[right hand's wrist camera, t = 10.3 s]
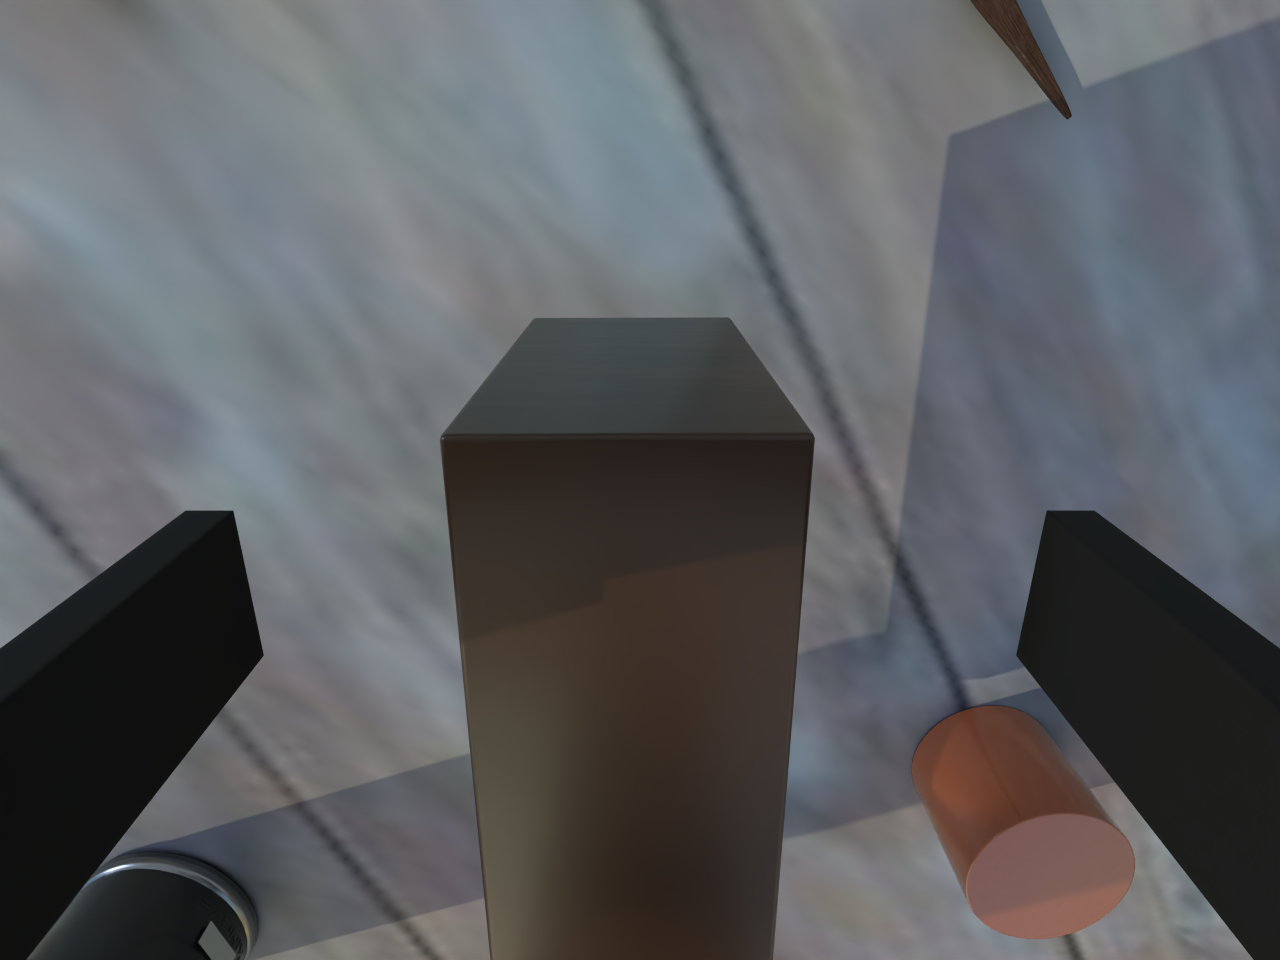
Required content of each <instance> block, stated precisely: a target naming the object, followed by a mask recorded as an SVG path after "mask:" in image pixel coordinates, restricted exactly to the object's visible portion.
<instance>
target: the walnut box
mask: <svg viewBox="0 0 1280 960" xmlns="http://www.w3.org/2000/svg"><path fill="white" fill-rule="evenodd" d="M814 442H815V438H814V435H813V433H812V432H811V430H810V429H809V428H808V426H807V425H806V423H805V422H804V421H803V419H802V418H801V417H800V415H799V414H798V412H797V411H796V410H795V408H794V407H793V405H792V404H791V403H790V401H789V400H788V398H787V397H786V396H785V394H784V393H783V391H782V390H781V389H780V387H779V386H778V385H777V383H776V382H775V380H774V379H773V378H772V376H771V375H770V373H769V372H768V371H767V369H766V368H765V366H764V365H763V364H762V362H761V361H760V359H759V358H758V357H757V355H756V354H755V352H754V351H753V350H752V348H751V347H750V346H749V344H748V343H747V341H746V340H745V339H744V337H743V336H742V334H741V333H740V332H739V330H738V329H737V327H736V326H735V325H734V323H733V322H732V320H731V319H730V318H535V319H533V321H532V322H531V323H530V324H529V326H528V327H527V328H526V329H525V331H524V332H523V333H522V334H521V336H520V337H519V338H518V339H517V341H516V342H515V343H514V345H513V346H512V347H511V348H510V350H509V351H508V352H507V353H506V355H505V356H504V357H503V358H502V360H501V361H500V362H499V363H498V365H497V366H496V367H495V368H494V370H493V371H492V372H491V374H490V375H489V376H488V377H487V379H486V380H485V381H484V382H483V384H482V385H481V386H480V387H479V389H478V390H477V391H476V392H475V394H474V395H473V396H472V398H471V399H470V400H469V401H468V403H467V404H466V405H465V406H464V408H463V409H462V410H461V411H460V413H459V414H458V415H457V416H456V418H455V419H454V420H453V421H452V423H451V424H450V425H449V427H448V428H447V429H446V430H445V432H444V433H443V434H442V435H441V438H440V446H441V456H442V466H443V476H444V487H445V497H446V507H447V518H448V528H449V538H450V548H451V559H452V569H453V579H454V589H455V600H456V610H457V620H458V631H459V641H460V651H461V661H462V672H463V682H464V692H465V703H466V713H467V723H468V733H469V744H470V754H471V764H472V775H473V785H474V795H475V805H476V816H477V826H478V836H479V846H480V857H481V867H482V877H483V888H484V898H485V908H486V918H487V929H488V939H489V949H490V960H773V952H774V939H775V927H776V915H777V902H778V890H779V877H780V865H781V852H782V840H783V828H784V815H785V803H786V790H787V778H788V765H789V753H790V740H791V728H792V716H793V703H794V691H795V678H796V666H797V653H798V641H799V629H800V616H801V604H802V591H803V579H804V566H805V554H806V541H807V529H808V517H809V504H810V492H811V479H812V467H813V454H814Z"/></svg>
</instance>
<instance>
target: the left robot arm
mask: <svg viewBox="0 0 1280 960" xmlns="http://www.w3.org/2000/svg"><path fill="white" fill-rule="evenodd" d="M257 934H258V924H257V918H256V914H255V911H254V909H253V907H252V905H251V903H250V901H249V900H248V898H247V896H246V895H245V894H244V893H243V891H242V890H241V889H240V888H239V887H238V886H237V885H236V884H235V883H234V882H233V881H232V880H230V879H229V878H228V877H227V876H225V875H224V874H222V873H221V872H219V871H218V870H216V869H214V868H212V867H211V866H209V865H207V864H204V863H202V862H200V861H197V860H195V859H192V858H188V857H185V856H181V855H177V854H171V853H163V852H139V853H133V854H128V855H124V856H121V857H118V858H115V859H113V860H111V861H109V862H107V863H105V864H104V865H102V866H101V867H99V868H98V869H97V870H96V871H95V872H94V874H93V875H92V876H91V877H90V879H89V880H88V881H87V883H86V884H85V885H84V886H83V888H82V889H81V890H80V892H79V893H78V894H77V895H76V897H75V898H74V899H73V900H72V902H71V903H70V904H69V906H68V907H67V908H66V909H65V911H64V912H63V913H62V915H61V916H60V917H59V918H58V920H57V921H56V922H55V924H54V925H53V926H52V927H51V929H50V930H49V931H48V933H47V934H46V935H45V936H44V938H43V939H42V940H41V942H40V943H39V944H38V945H37V947H36V948H35V949H34V950H33V952H32V953H31V954H30V956H29V957H28V958H27V959H26V960H247V959H248V957H249V955H250V953H251V951H252V949H253V947H254V945H255V942H256V939H257Z"/></svg>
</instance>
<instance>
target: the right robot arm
mask: <svg viewBox="0 0 1280 960" xmlns="http://www.w3.org/2000/svg"><path fill="white" fill-rule="evenodd" d="M263 656H264V654H263V650H262V645H261V640H260V635H259V631H258V626H257V621H256V616H255V612H254V607H253V602H252V597H251V593H250V588H249V583H248V578H247V574H246V569H245V564H244V559H243V555H242V550H241V545H240V540H239V536H238V531H237V526H236V521H235V517H234V512H233V511H185V512H183V513H182V514H181V515H179V516H178V517H177V518H175V519H174V520H173V521H171V522H170V523H169V524H167V525H166V526H165V527H163V528H162V529H160V530H159V531H158V532H156V533H155V534H154V535H152V536H151V537H150V538H148V539H147V540H146V541H144V542H143V543H142V544H140V545H139V546H138V547H136V548H135V549H134V550H132V551H131V552H130V553H128V554H127V555H125V556H124V557H123V558H121V559H120V560H119V561H117V562H116V563H115V564H113V565H112V566H111V567H109V568H108V569H107V570H105V571H104V572H103V573H101V574H100V575H99V576H97V577H96V578H95V579H93V580H92V581H90V582H89V583H88V584H86V585H85V586H84V587H82V588H81V589H80V590H78V591H77V592H76V593H74V594H73V595H72V596H70V597H69V598H68V599H66V600H65V601H64V602H62V603H61V604H60V605H58V606H57V607H56V608H54V609H53V610H51V611H50V612H49V613H47V614H46V615H45V616H43V617H42V618H41V619H39V620H38V621H37V622H35V623H34V624H33V625H31V626H30V627H29V628H27V629H26V630H25V631H23V632H22V633H21V634H19V635H18V636H16V637H15V638H14V639H12V640H11V641H10V642H8V643H7V644H6V645H4V646H3V647H2V648H0V960H26V959H27V958H28V957H29V956H30V954H31V953H32V952H33V950H34V949H35V948H36V947H37V945H38V944H39V943H40V942H41V940H42V939H43V938H44V936H45V935H46V934H47V933H48V931H49V930H50V929H51V927H52V926H53V925H54V924H55V922H56V921H57V920H58V918H59V917H60V916H61V915H62V913H63V912H64V911H65V909H66V908H67V907H68V906H69V904H70V903H71V902H72V900H73V899H74V898H75V897H76V895H77V894H78V893H79V892H80V890H81V889H82V888H83V886H84V885H85V884H86V883H87V881H88V880H89V879H90V877H91V876H92V875H93V874H94V872H95V871H96V870H97V868H98V867H99V866H100V865H101V863H102V862H103V861H104V859H105V858H106V857H107V856H108V854H109V853H110V852H111V851H112V849H113V848H114V847H115V845H116V844H117V843H118V842H119V840H120V839H121V838H122V836H123V835H124V834H125V833H126V831H127V830H128V829H129V827H130V826H131V825H132V824H133V822H134V821H135V820H136V818H137V817H138V816H139V815H140V813H141V812H142V811H143V809H144V808H145V807H146V806H147V804H148V803H149V802H150V801H151V799H152V798H153V797H154V795H155V794H156V793H157V792H158V790H159V789H160V788H161V786H162V785H163V784H164V783H165V781H166V780H167V779H168V777H169V776H170V775H171V774H172V772H173V771H174V770H175V768H176V767H177V766H178V765H179V763H180V762H181V761H182V760H183V758H184V757H185V756H186V754H187V753H188V752H189V751H190V749H191V748H192V747H193V745H194V744H195V743H196V742H197V740H198V739H199V738H200V736H201V735H202V734H203V733H204V731H205V730H206V729H207V727H208V726H209V725H210V724H211V722H212V721H213V720H214V718H215V717H216V716H217V715H218V713H219V712H220V711H221V710H222V708H223V707H224V706H225V704H226V703H227V702H228V701H229V699H230V698H231V697H232V695H233V694H234V693H235V692H236V690H237V689H238V688H239V686H240V685H241V684H242V683H243V681H244V680H245V679H246V677H247V676H248V675H249V674H250V672H251V671H252V670H253V668H254V667H255V666H256V665H257V663H258V662H259V661H260V660H261V658H262V657H263ZM1016 656H1017V657H1018V658H1019V660H1020V661H1021V662H1022V663H1023V665H1024V666H1025V667H1026V668H1027V670H1028V671H1029V672H1030V674H1031V675H1032V676H1033V677H1034V679H1035V680H1036V681H1037V683H1038V684H1039V685H1040V686H1041V688H1042V689H1043V690H1044V692H1045V693H1046V694H1047V695H1048V697H1049V698H1050V699H1051V701H1052V702H1053V703H1054V704H1055V706H1056V707H1057V708H1058V710H1059V711H1060V712H1061V713H1062V715H1063V716H1064V717H1065V718H1066V720H1067V721H1068V722H1069V724H1070V725H1071V726H1072V727H1073V729H1074V730H1075V731H1076V733H1077V734H1078V735H1079V736H1080V738H1081V739H1082V740H1083V742H1084V743H1085V744H1086V745H1087V747H1088V748H1089V749H1090V751H1091V752H1092V753H1093V754H1094V756H1095V757H1096V758H1097V760H1098V761H1099V762H1100V763H1101V765H1102V766H1103V767H1104V768H1105V770H1106V771H1107V772H1108V774H1109V775H1110V776H1111V777H1112V779H1113V780H1114V781H1115V783H1116V784H1117V785H1118V786H1119V788H1120V789H1121V790H1122V792H1123V793H1124V794H1125V795H1126V797H1127V798H1128V799H1129V801H1130V802H1131V803H1132V804H1133V806H1134V807H1135V808H1136V809H1137V811H1138V812H1139V813H1140V815H1141V816H1142V817H1143V818H1144V820H1145V821H1146V822H1147V824H1148V825H1149V826H1150V827H1151V829H1152V830H1153V831H1154V833H1155V834H1156V835H1157V836H1158V838H1159V839H1160V840H1161V842H1162V843H1163V844H1164V845H1165V847H1166V848H1167V849H1168V851H1169V852H1170V853H1171V854H1172V856H1173V857H1174V858H1175V859H1176V861H1177V862H1178V863H1179V865H1180V866H1181V867H1182V868H1183V870H1184V871H1185V872H1186V874H1187V875H1188V876H1189V877H1190V879H1191V880H1192V881H1193V883H1194V884H1195V885H1196V886H1197V888H1198V889H1199V890H1200V892H1201V893H1202V894H1203V895H1204V897H1205V898H1206V899H1207V900H1208V902H1209V903H1210V904H1211V906H1212V907H1213V908H1214V909H1215V911H1216V912H1217V913H1218V915H1219V916H1220V917H1221V918H1222V920H1223V921H1224V922H1225V924H1226V925H1227V926H1228V927H1229V929H1230V930H1231V931H1232V933H1233V934H1234V935H1235V936H1236V938H1237V939H1238V940H1239V942H1240V943H1241V944H1242V945H1243V947H1244V948H1245V949H1246V950H1247V952H1248V953H1249V954H1250V956H1251V957H1252V958H1253V959H1254V960H1280V648H1278V647H1277V646H1276V645H1274V644H1273V643H1272V642H1270V641H1269V640H1268V639H1266V638H1265V637H1264V636H1262V635H1261V634H1259V633H1258V632H1257V631H1255V630H1254V629H1253V628H1251V627H1250V626H1249V625H1247V624H1246V623H1245V622H1243V621H1242V620H1241V619H1239V618H1238V617H1237V616H1235V615H1234V614H1233V613H1231V612H1230V611H1229V610H1227V609H1226V608H1224V607H1223V606H1222V605H1220V604H1219V603H1218V602H1216V601H1215V600H1214V599H1212V598H1211V597H1210V596H1208V595H1207V594H1206V593H1204V592H1203V591H1202V590H1200V589H1199V588H1198V587H1196V586H1195V585H1194V584H1192V583H1191V582H1189V581H1188V580H1187V579H1185V578H1184V577H1183V576H1181V575H1180V574H1179V573H1177V572H1176V571H1175V570H1173V569H1172V568H1171V567H1169V566H1168V565H1167V564H1165V563H1164V562H1163V561H1161V560H1160V559H1159V558H1157V557H1156V556H1155V555H1153V554H1152V553H1150V552H1149V551H1148V550H1146V549H1145V548H1144V547H1142V546H1141V545H1140V544H1138V543H1137V542H1136V541H1134V540H1133V539H1132V538H1130V537H1129V536H1128V535H1126V534H1125V533H1124V532H1122V531H1121V530H1120V529H1118V528H1117V527H1115V526H1114V525H1113V524H1111V523H1110V522H1109V521H1107V520H1106V519H1105V518H1103V517H1102V516H1101V515H1099V514H1098V513H1097V512H1095V511H1047V512H1046V517H1045V521H1044V526H1043V531H1042V536H1041V540H1040V545H1039V550H1038V555H1037V559H1036V564H1035V569H1034V574H1033V578H1032V583H1031V588H1030V593H1029V597H1028V602H1027V607H1026V612H1025V616H1024V621H1023V626H1022V631H1021V635H1020V640H1019V645H1018V650H1017V654H1016Z"/></svg>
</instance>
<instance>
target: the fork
mask: <svg viewBox="0 0 1280 960" xmlns="http://www.w3.org/2000/svg"><path fill="white" fill-rule="evenodd" d="M971 2H972V3H973V4H974V6H975V7H976V8H977V10H978V11H979V12H980V13H981V15H982V16H983V17H984V18H985V20H986V21H987V22H988V23H989V24H990V26H991V27H992V28H993V29H994V30H995V31H996V33H997V34H998V35H999V36H1000V37H1001V39H1002V40H1003V41H1004V42H1005V43H1006V45H1007V46H1008V47H1009V48H1010V49H1011V51H1012V52H1013V53H1014V54H1015V56H1016V57H1017V58H1018V59H1019V60H1020V62H1021V63H1022V64H1023V66H1024V67H1025V68H1026V70H1027V71H1028V72H1029V73H1030V75H1031V76H1032V77H1033V79H1034V80H1035V81H1036V82H1037V84H1038V85H1039V86H1040V88H1041V89H1042V90H1043V92H1044V93H1045V94H1046V95H1047V97H1048V98H1049V99H1050V100H1051V102H1052V103H1053V104H1054V105H1055V107H1056V108H1057V109H1058V110H1059V111H1060V113H1061V114H1062V115H1063V116H1064V117H1065V118H1066V119H1069V118H1070V117H1071V116H1072V115H1071V112H1070V109H1069V107H1068V105H1067V103H1066V101H1065V98H1064V96H1063V94H1062V92H1061V90H1060V88H1059V86H1058V84H1057V82H1056V80H1055V78H1054V76H1053V74H1052V72H1051V70H1050V68H1049V66H1048V65H1047V63H1046V61H1045V59H1044V57H1043V55H1042V53H1041V51H1040V49H1039V47H1038V45H1037V43H1036V41H1035V39H1034V37H1033V35H1032V33H1031V31H1030V29H1029V27H1028V24H1027V22H1026V20H1025V18H1024V16H1023V14H1022V12H1021V10H1020V8H1019V6H1018V4H1017V2H1016V0H971Z"/></svg>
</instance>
